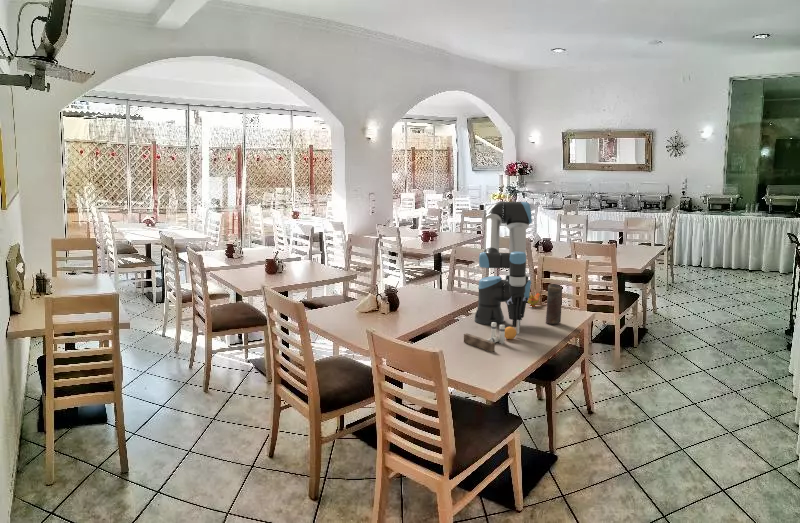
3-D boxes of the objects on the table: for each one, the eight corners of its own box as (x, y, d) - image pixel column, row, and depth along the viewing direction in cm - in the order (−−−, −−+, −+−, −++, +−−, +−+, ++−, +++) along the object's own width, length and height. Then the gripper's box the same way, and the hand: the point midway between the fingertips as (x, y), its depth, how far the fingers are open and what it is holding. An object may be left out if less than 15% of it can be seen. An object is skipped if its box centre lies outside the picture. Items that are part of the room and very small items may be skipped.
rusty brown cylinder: (559, 321, 308) (561, 284, 305) (562, 325, 301) (563, 287, 298) (544, 321, 309) (546, 283, 306) (546, 325, 302) (548, 286, 298)
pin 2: (498, 343, 273) (498, 325, 272) (500, 341, 275) (500, 324, 274) (503, 344, 272) (503, 326, 271) (505, 342, 274) (505, 325, 273)
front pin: (500, 340, 278) (487, 343, 273) (500, 335, 278) (486, 338, 273) (504, 341, 276) (490, 344, 271) (503, 335, 276) (490, 338, 271)
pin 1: (490, 340, 278) (490, 323, 276) (492, 339, 280) (492, 321, 278) (495, 341, 276) (495, 323, 275) (497, 340, 278) (497, 322, 277)
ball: (512, 332, 284) (506, 341, 282) (505, 323, 282) (498, 333, 280) (520, 332, 279) (514, 342, 276) (513, 324, 277) (506, 333, 275)
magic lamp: (545, 303, 346) (546, 285, 344) (532, 310, 332) (533, 291, 330) (534, 302, 350) (535, 283, 348) (521, 308, 336) (521, 289, 334)
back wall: (463, 342, 276) (463, 334, 275) (466, 341, 277) (467, 333, 276) (491, 352, 261) (491, 343, 260) (494, 351, 262) (494, 342, 262)
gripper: (520, 281, 285) (519, 328, 289) (501, 285, 278) (500, 333, 282) (532, 284, 279) (531, 332, 283) (513, 287, 272) (512, 337, 276)
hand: (516, 333), depth 283 cm, fingers closed
